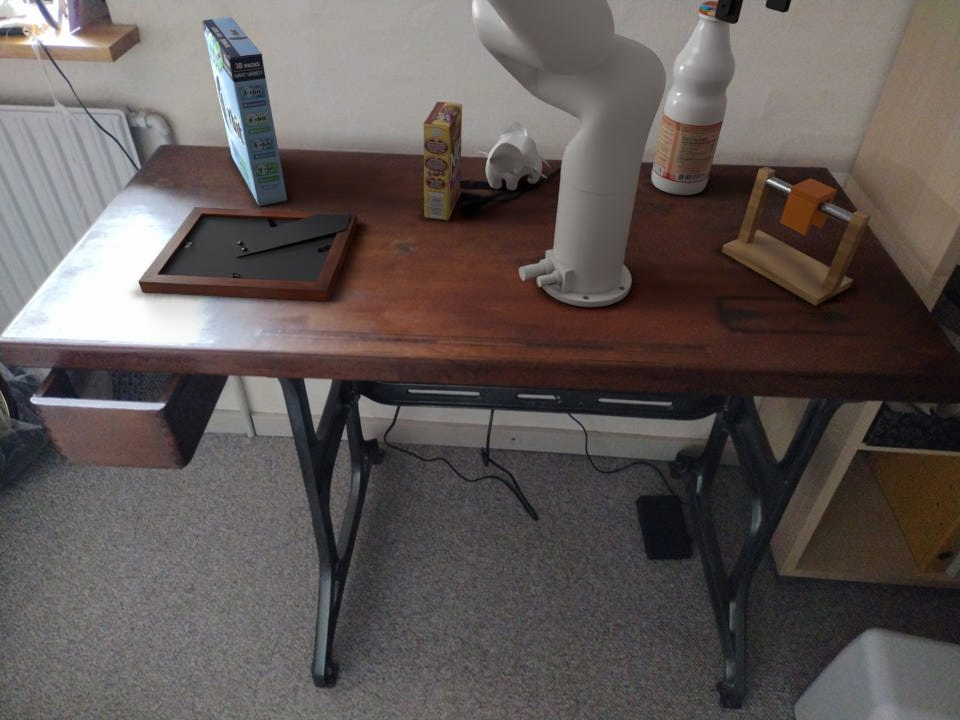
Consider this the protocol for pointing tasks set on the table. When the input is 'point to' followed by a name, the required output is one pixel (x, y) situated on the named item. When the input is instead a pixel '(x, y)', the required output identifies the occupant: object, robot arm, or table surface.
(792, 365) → the table surface
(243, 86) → the gum box
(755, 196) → the rail stand
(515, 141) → the elephant figurine
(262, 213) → the picture frame
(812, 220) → the clip
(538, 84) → the robot arm
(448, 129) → the candy box
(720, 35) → the fruit juice
